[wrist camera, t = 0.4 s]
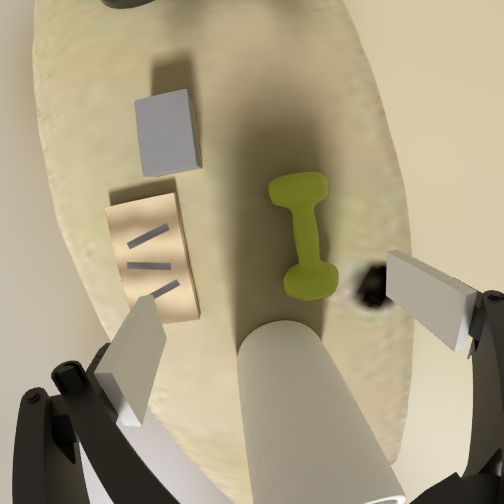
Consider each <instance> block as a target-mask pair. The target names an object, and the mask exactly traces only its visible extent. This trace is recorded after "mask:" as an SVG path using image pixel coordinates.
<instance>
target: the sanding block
mask: <svg viewBox="0 0 504 504" xmlns="http://www.w3.org/2000/svg"><path fill="white" fill-rule="evenodd" d="M135 110H136V121H137V131H138V140H139V148H140V156H141V163H142V170H143V177H162V176H167V175H172V174H177V173H182V172H187V171H193V170H198V169H203V168H202V161H201V155H200V147H199V140H198V133H197V125H196V118H195V110H194V105H193V102H192V100H191V98H190V95H189V93H188V90H187V89H182V90H177V91H172V92H168V93H163V94H159V95H155V96H151V97H147V98H143V99H139V100H135Z"/></svg>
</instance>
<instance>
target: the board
mask: <svg viewBox="0 0 504 504" xmlns="http://www.w3.org/2000/svg"><path fill="white" fill-rule="evenodd" d="M105 210H106V216H107V221H108V226H109V230H110V235H111V240H112V244H113V248H114V252H115V257H116V261H117V264H118V268H119V272H120V276H121V279H122V283H123V287H124V290H125V293H126V297H127V300H128V303H129V307H130V310H131V309H132V308H133V306H134V305H135V303H136V302H137V300H138V298H139V297H140V296H146V295H153V297H154V301H155V304H156V307H157V310H158V314H159V317H160V320H161V323H162V324H167V323H176V322H183V321H191V320H199V319H200V314H201V313H200V309H199V304H198V300H197V296H196V291H195V287H194V282H193V278H192V273H191V268H190V263H189V259H188V254H187V249H186V244H185V238H184V233H183V228H182V222H181V217H180V211H179V205H178V199H177V193H176V192H174V193H169V194H164V195H159V196H154V197H149V198H145V199H140V200H135V201H131V202H127V203H122V204H118V205H114V206H110V207H106V208H105Z"/></svg>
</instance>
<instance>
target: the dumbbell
mask: <svg viewBox="0 0 504 504" xmlns="http://www.w3.org/2000/svg"><path fill="white" fill-rule="evenodd" d="M268 190H269V196H270V199H271V201H272V203H274V204H275V205H277V206H281V207H285V208H288V209H289V210H290V211H291V213H292V217H293V231H294V239H295V245H296V250H297V254H298V259H299V262H298V264H296V265H294V266H292V267H291V268H290V269H289V270H288V271H287V273H286V274H285V276H284V279H283V284H284V290H285V293H286V294H287V295H289V296H291V297H293V298H296V299H299V300H302V301H313V300H317V299H321V298H325V297H328V296H330V295H332V294H333V293H334V292H335V291H336V288H337V286H338V280H339V278H338V270H337V268H336V267H335V266H334V265H332V264H330V263H327V262H323V261H322V260H321V259H320V256H319V238H318V230H317V223H316V219H315V215H314V207H315V205H316V204H317V203H319V202H320V201H322V200H323V199H324V198H325V197H326V196H327V195H328V192H329V185H328V179H327V177H326V175H324V174H322V173H318V172H299V173H293V174H288V175H284V176H281V177H278V178H275V179H273V180H272V181H271V182H270V183H269V185H268Z"/></svg>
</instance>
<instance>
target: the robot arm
mask: <svg viewBox="0 0 504 504" xmlns="http://www.w3.org/2000/svg"><path fill="white" fill-rule="evenodd" d="M101 1H102V2H103V3H104V4H105V5H106V6H108V7H111V8H117V9H125V8H133V7H137V6H141V5H144V4H147V3H149V2H152V1H154V0H101ZM386 296H388V297H389V298H390V299H391V300H393V301H394V302H395V303H396V304H398V305H399V306H400V307H401V308H403V309H404V310H405V311H406V312H408V313H409V314H410V315H411V316H412V317H414V318H415V319H416V320H417V321H419V322H420V323H421V324H422V325H423V326H425V327H426V328H427V329H428V330H429V331H430V332H432V333H433V334H434V335H435V336H436V337H438V338H439V339H440V340H441V341H442V342H443V343H444V344H446V345H447V346H448V347H449V348H450V349H451V350H453V351H454V352H455V351H457V350H459V349H461V348H462V347H464V346H465V345H466V341H467V337H468V334H469V335H470V336H471V337H473V340H472V344H471V347H470V350H469V354H468V358H467V359H469V358H470V356H471V355H472V365H473V418H472V432H471V443H470V451H469V459H468V464H467V467H466V470H465V472H464V474H463V476H462V477H459V475H458V474H457V472H455V473H454V474H452V475H450V476H449V477H447V478H446V479H444V480H442V481H441V482H439V483H437V484H436V485H434V486H432V487H430V488H429V489H427V490H426V491H424V492H423V493H422V494H421V495H419V496H418V497H417V498H416V499H415V500H413V501H412V502H411V503H410V504H504V294H503V293H501V292H499V291H494V290H490V291H485V292H484V293H481V292H479V291H477V290H475V289H474V288H472V287H470V286H468V285H466V284H465V283H463V282H461V281H459V280H457V279H455V278H453V277H451V276H449V275H447V274H445V273H443V272H441V271H439V270H437V269H435V268H433V267H431V266H429V265H427V264H425V263H424V262H421V261H420V260H418V259H416V258H413V257H411V256H409V255H407V254H405V253H403V252H401V251H399V250H393V251H389V252H387V284H386ZM166 339H167V338H166V335H165V332H164V329H163V326H162V323H161V320H160V317H159V314H158V310H157V307H156V304H155V301H154V297H153V295H146V296H140V297H139V298H138V300H137V302H136V303H135V305H134V306H133V308H132V309H131V311H130V313H129V314H128V316H127V317H126V319H125V321H124V322H123V324H122V326H121V327H120V329H119V330H118V332H117V334H116V335H115V337H114V339H113V340H112V342H111V343H106V344H105V345H104V346H103V347H101V348H100V349H99V351H98V352H97V354H96V355H95V358H94V359H93V360H92V363H91V364H90V366H89V367H88V369H87V370H86V372H85V371H84V369H83V367H82V365H81V364H80V363H79V362H78V361H67V362H64V363H62V364H60V365H58V366H57V367H56V368H55V369H54V370H53V372H52V373H51V378H52V380H53V381H54V383H55V385H56V387H57V388H58V390H59V392H60V393H61V395H55V396H51V397H49V395H48V394H47V392H46V391H45V390H44V389H43V388H40V387H37V388H33V389H30V390H28V391H27V392H26V393H25V395H24V396H23V397H22V399H21V403H20V408H19V414H18V420H17V427H16V435H15V444H14V455H13V475H12V496H13V504H90V501H89V497H88V493H87V488H86V483H85V479H84V473H83V468H82V462H81V456H80V448H79V442H81V444H82V447H83V449H84V451H85V453H86V455H87V457H88V459H89V461H90V463H91V465H92V467H93V469H94V470H95V472H96V474H97V476H98V478H99V480H100V481H101V483H102V485H103V487H104V488H105V490H106V492H107V493H108V495H109V497H110V498H111V500H112V501H113V503H114V504H180V503H179V502H178V501H177V500H176V498H175V497H173V495H172V494H171V493H170V492H169V491H168V490H167V489H166V488H165V487H164V485H163V484H162V483H161V482H160V481H159V480H158V479H157V477H156V476H155V475H154V474H153V473H152V472H151V470H150V469H149V468H148V467H147V465H146V464H145V463H144V462H143V460H142V459H141V458H140V457H139V456H138V454H137V453H136V451H135V450H134V449H133V447H132V446H131V445H130V443H129V442H128V441H127V439H126V438H125V436H124V435H123V433H122V432H121V430H120V429H119V428H118V426H117V425H116V421H117V419H118V416H119V418H120V419H121V421H122V422H123V424H124V426H142V423H143V419H144V415H145V411H146V407H147V404H148V400H149V397H150V393H151V389H152V386H153V382H154V379H155V375H156V372H157V368H158V365H159V362H160V358H161V355H162V352H163V348H164V345H165V342H166Z"/></svg>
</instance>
